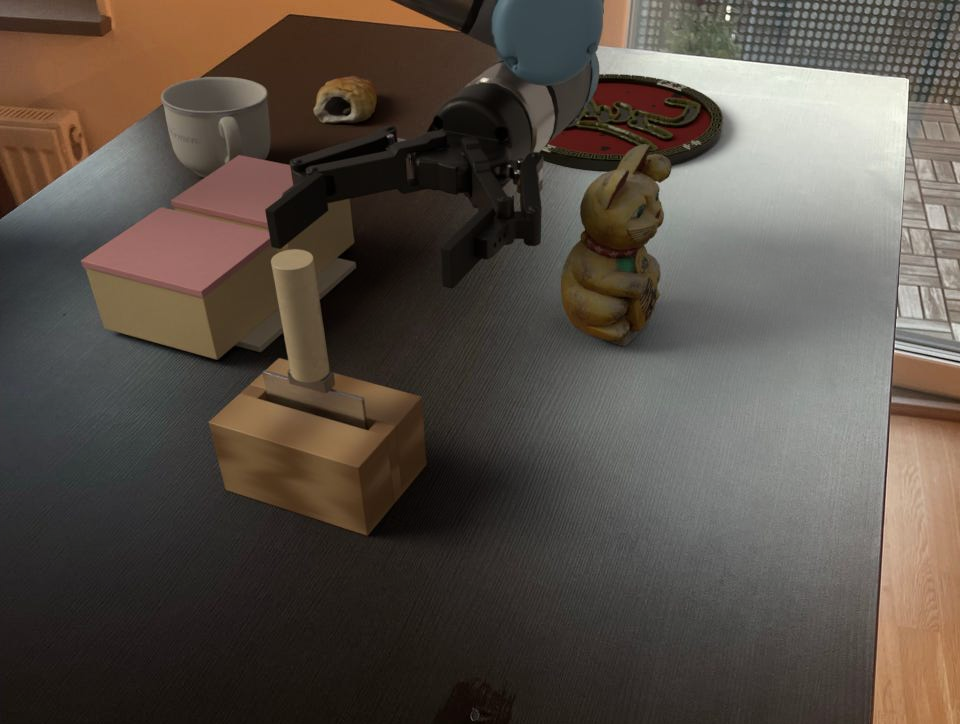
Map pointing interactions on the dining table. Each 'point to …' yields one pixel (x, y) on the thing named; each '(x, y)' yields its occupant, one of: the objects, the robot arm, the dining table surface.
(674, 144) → the decorative plate
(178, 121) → the teacup
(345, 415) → the knife
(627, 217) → the decorative figurine
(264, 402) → the knife block
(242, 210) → the cake
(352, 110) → the pastry
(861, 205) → the dining table surface
